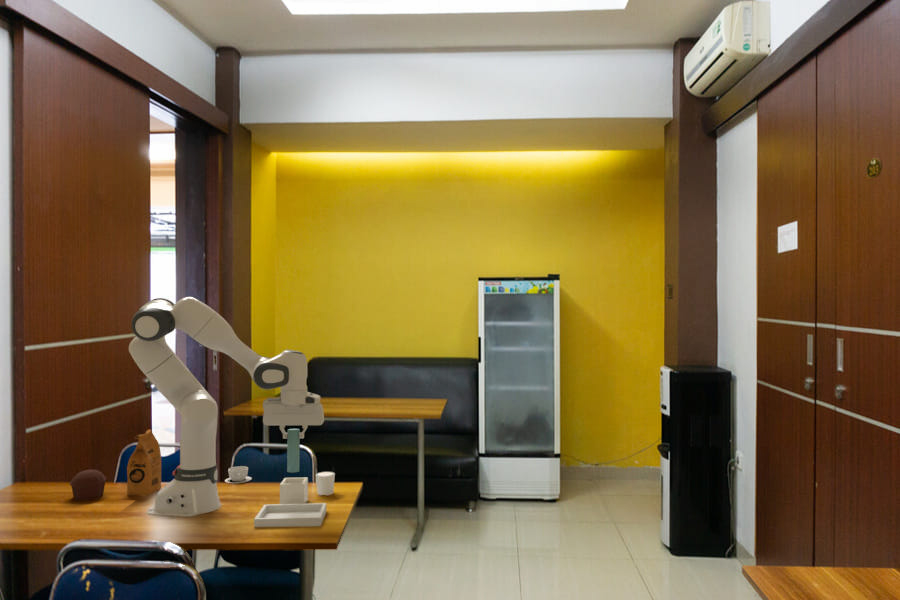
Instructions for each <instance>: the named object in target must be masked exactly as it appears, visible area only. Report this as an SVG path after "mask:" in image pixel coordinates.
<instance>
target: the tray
mask: <svg viewBox="0 0 900 600" xmlns="http://www.w3.org/2000/svg"><path fill="white" fill-rule="evenodd" d="M326 513H327V503H326V502H317V503H314V502H313V503H312V502H311V503H306V504H280V503H277V504H276V503H274V504H268V503H267V504H263V506H262V507H261V508H260V510H259V512H258V513H257V514H256V515H255V518H254V519H253V527H254V528H272V527H273V528H279V527H281V528H283V527H284V528H287V527H321V526H322V524H323V521H324V519H325V517H326V515H327V514H326Z"/></svg>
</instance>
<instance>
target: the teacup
mask: <svg viewBox="0 0 900 600" xmlns="http://www.w3.org/2000/svg"><path fill="white" fill-rule="evenodd" d="M227 470H228V471H227V472H228V476H229V477H228V478H226V479H224V482H225V483H228V484H241V483H247V482H249V481H251V480H252V479H253V477H251V476H248V473H249V467H248V466H246V465H245V466H243V465H240V466H232V467H229V468H228V469H227ZM229 480H231V481H232V482H231V481H229Z"/></svg>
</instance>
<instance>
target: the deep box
mask: <svg viewBox="0 0 900 600" xmlns="http://www.w3.org/2000/svg"><path fill="white" fill-rule="evenodd" d="M308 483H309V478H308V477H306V476H304V477H284V478H283V480H282V481H281V482H280V484H279V504H308V503H307V502H308V500H309V484H308Z"/></svg>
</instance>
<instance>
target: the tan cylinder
mask: <svg viewBox="0 0 900 600" xmlns="http://www.w3.org/2000/svg"><path fill="white" fill-rule="evenodd" d="M335 476H336V473H335V472H333V471H321V472H317V473H316V474H315V482H316V483H315V484H316V493H317V495H319V496H322V495H326V496H330V495H333V494H334V491H335V490H334V487H335Z"/></svg>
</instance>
